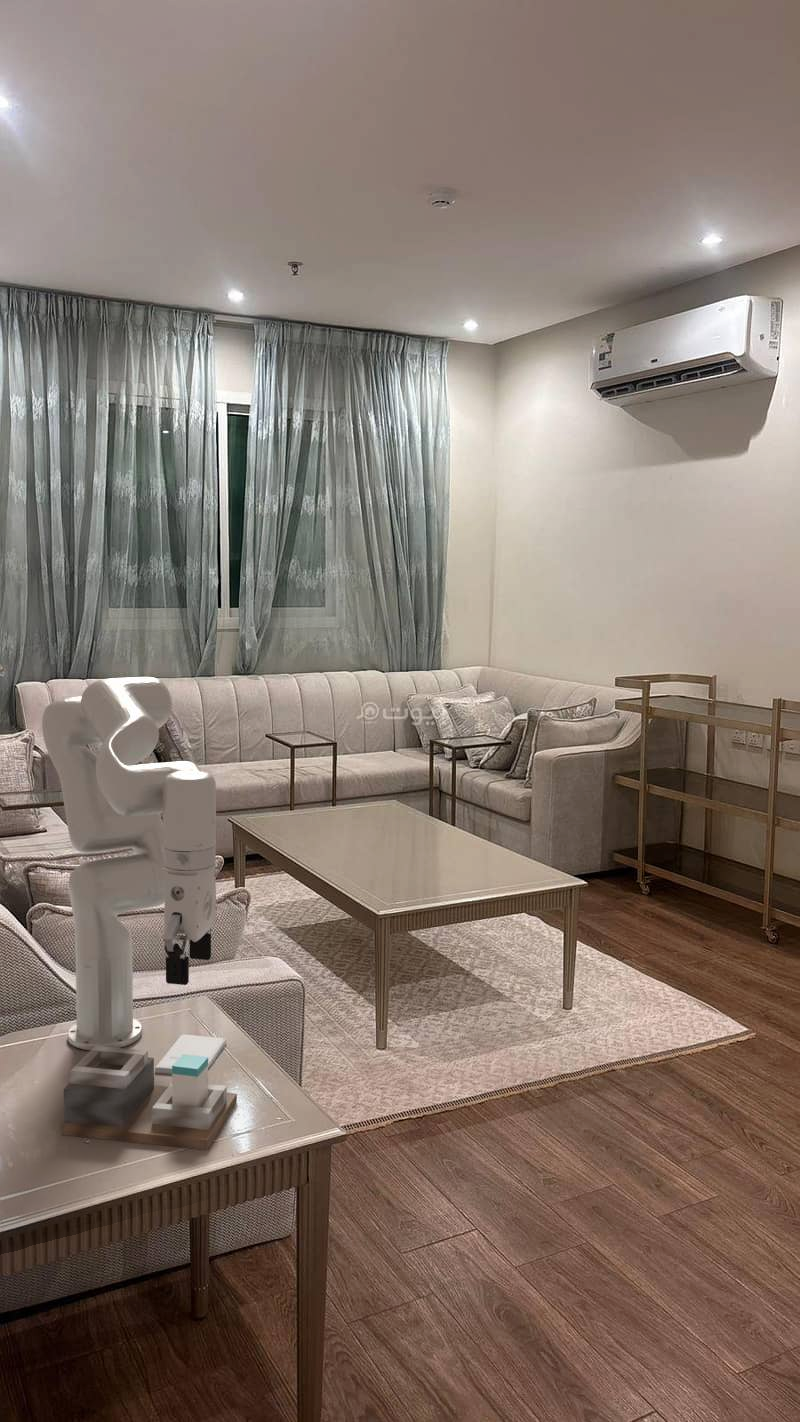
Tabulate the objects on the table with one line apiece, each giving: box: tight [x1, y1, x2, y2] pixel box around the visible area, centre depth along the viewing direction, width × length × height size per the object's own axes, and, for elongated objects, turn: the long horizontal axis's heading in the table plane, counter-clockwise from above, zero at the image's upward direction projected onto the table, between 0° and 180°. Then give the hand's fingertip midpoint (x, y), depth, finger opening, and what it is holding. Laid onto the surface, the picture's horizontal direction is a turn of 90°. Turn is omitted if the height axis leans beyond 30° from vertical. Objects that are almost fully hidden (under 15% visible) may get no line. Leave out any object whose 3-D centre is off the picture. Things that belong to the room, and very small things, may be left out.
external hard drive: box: [154, 1034, 227, 1075], centre depth 182 cm, size 2×8×12 cm
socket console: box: [60, 1046, 238, 1151], centre depth 162 cm, size 22×14×8 cm, turn 81°
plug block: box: [171, 1054, 209, 1107], centre depth 161 cm, size 4×4×8 cm
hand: (189, 970), depth 158 cm, fingers open, 9 cm apart
